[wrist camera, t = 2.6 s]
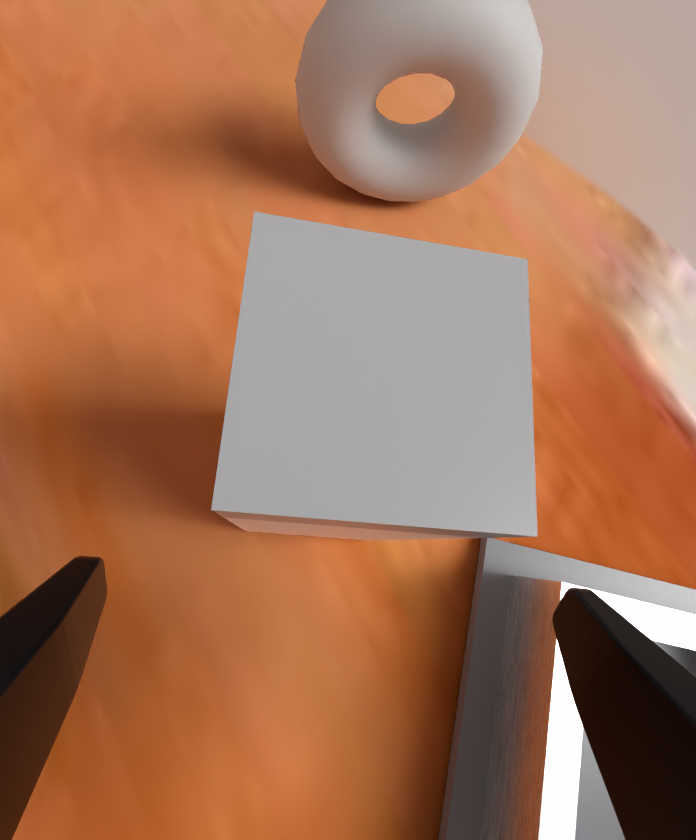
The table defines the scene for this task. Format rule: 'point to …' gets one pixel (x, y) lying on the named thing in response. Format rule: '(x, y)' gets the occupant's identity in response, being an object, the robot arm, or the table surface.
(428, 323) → the gray square block
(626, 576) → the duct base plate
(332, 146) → the donut
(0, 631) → the robot arm
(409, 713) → the table surface
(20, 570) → the table surface
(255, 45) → the table surface
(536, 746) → the metal collar
